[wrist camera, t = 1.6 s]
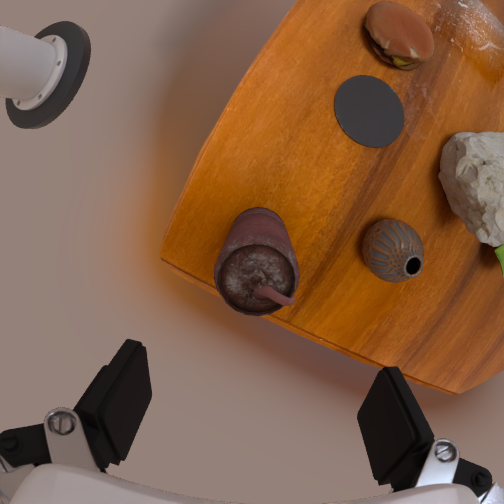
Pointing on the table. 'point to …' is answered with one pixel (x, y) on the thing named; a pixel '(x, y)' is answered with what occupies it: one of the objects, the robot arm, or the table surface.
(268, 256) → the can
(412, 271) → the vase
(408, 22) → the burger
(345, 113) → the coaster
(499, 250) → the potted flower
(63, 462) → the robot arm
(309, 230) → the table surface
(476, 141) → the stone
